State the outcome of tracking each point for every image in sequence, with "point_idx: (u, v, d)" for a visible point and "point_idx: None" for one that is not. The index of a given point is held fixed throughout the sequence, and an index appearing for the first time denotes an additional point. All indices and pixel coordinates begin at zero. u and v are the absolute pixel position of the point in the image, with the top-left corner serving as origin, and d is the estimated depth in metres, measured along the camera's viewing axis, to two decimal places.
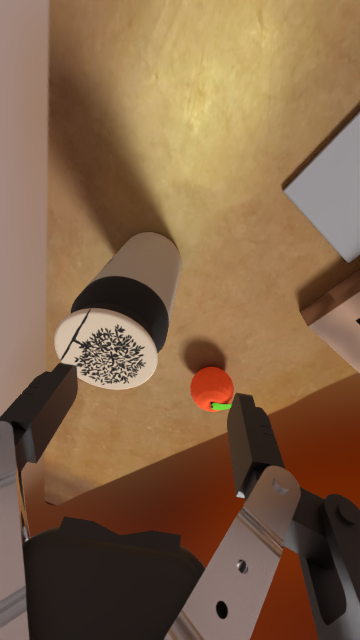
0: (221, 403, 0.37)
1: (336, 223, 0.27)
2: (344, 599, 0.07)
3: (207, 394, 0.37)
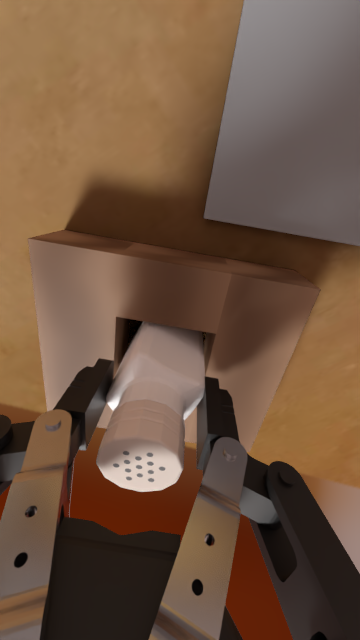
0: None
1: (262, 103, 0.11)
2: (292, 550, 0.08)
3: None
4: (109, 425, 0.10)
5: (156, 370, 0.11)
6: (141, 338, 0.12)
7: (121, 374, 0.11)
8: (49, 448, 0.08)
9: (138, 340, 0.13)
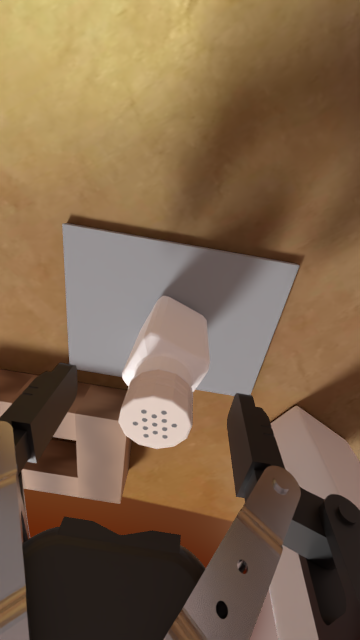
0: None
1: (87, 319, 0.19)
2: (344, 599, 0.07)
3: None
4: (128, 391, 0.11)
5: (167, 347, 0.13)
6: (152, 321, 0.14)
7: (136, 351, 0.13)
8: None
9: (149, 323, 0.14)
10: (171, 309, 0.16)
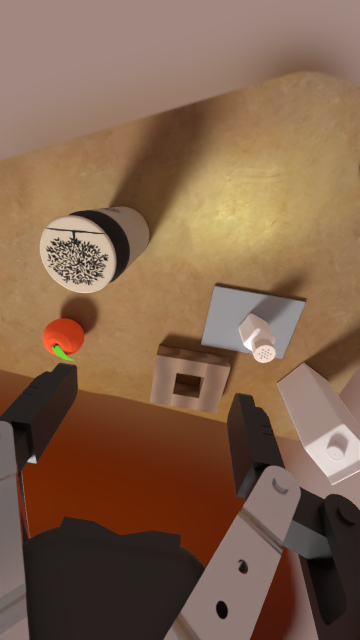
0: (62, 350, 0.43)
1: (215, 323, 0.46)
2: (344, 599, 0.07)
3: (61, 336, 0.42)
4: (255, 345, 0.37)
5: (263, 332, 0.39)
6: (254, 324, 0.40)
7: (252, 334, 0.39)
8: None
9: (253, 324, 0.40)
10: (257, 319, 0.42)
